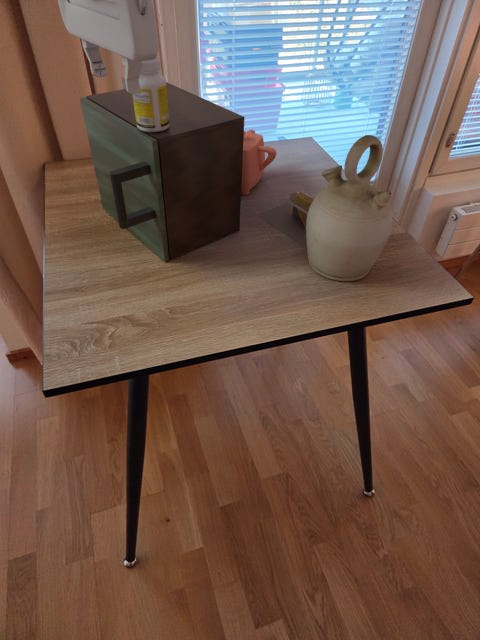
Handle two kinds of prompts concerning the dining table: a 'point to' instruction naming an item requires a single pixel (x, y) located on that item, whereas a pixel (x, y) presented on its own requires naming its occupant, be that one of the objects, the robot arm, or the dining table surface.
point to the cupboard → (193, 166)
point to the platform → (290, 217)
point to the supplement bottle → (151, 99)
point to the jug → (349, 217)
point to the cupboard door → (128, 176)
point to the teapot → (254, 160)
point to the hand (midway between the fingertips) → (115, 83)
